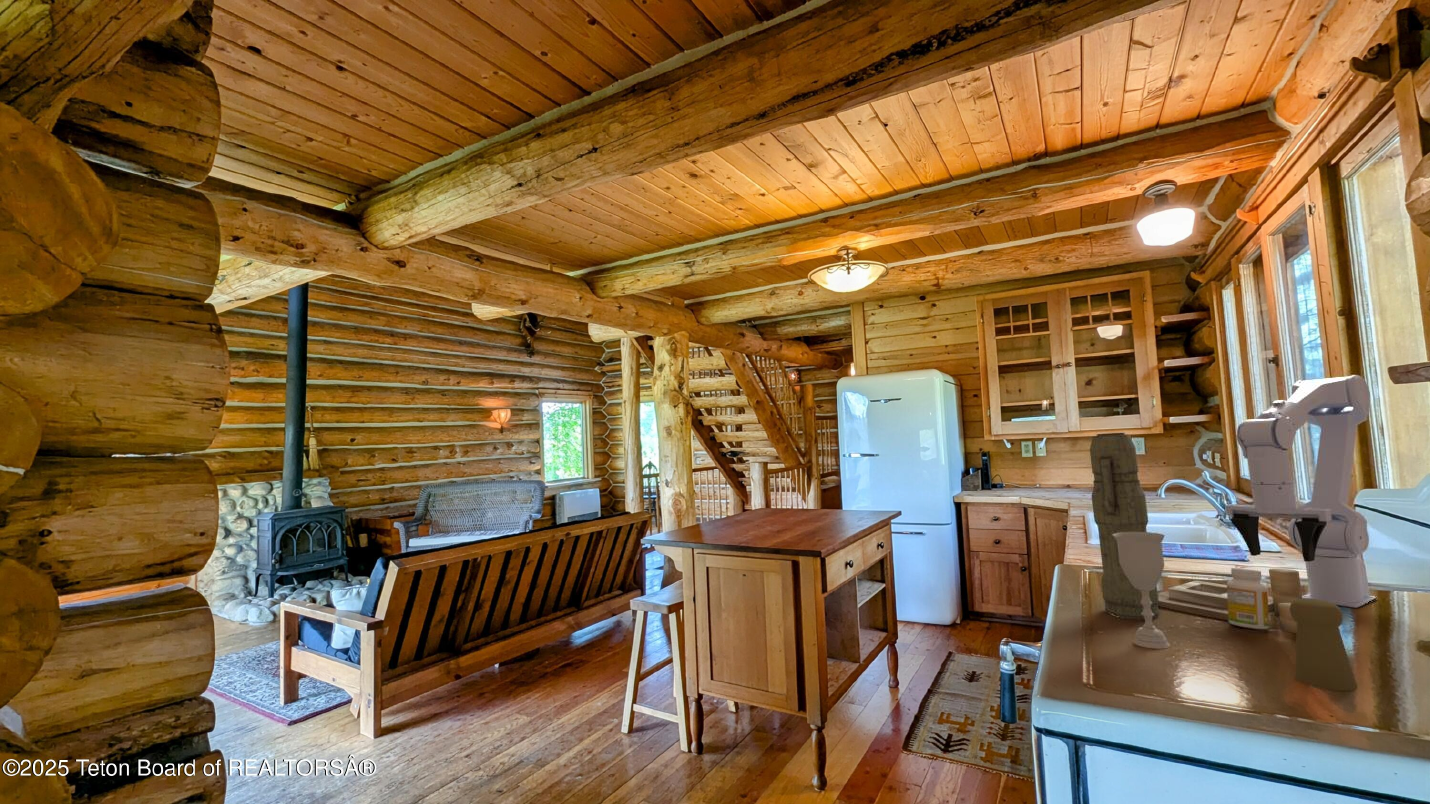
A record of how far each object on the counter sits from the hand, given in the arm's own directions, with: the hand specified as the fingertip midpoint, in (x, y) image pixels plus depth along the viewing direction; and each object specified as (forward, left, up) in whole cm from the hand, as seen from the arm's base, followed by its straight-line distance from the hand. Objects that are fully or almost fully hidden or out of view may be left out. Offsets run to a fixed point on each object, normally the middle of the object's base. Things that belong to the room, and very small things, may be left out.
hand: (1281, 557), depth 109 cm
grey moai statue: (+18, -17, -11) cm, 27 cm away
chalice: (+32, -6, -11) cm, 34 cm away
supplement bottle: (+12, -1, -11) cm, 16 cm away
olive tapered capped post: (+30, +15, -11) cm, 35 cm away
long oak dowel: (0, 0, -10) cm, 10 cm away
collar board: (+2, -11, -10) cm, 15 cm away
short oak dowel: (+8, +4, -10) cm, 14 cm away
